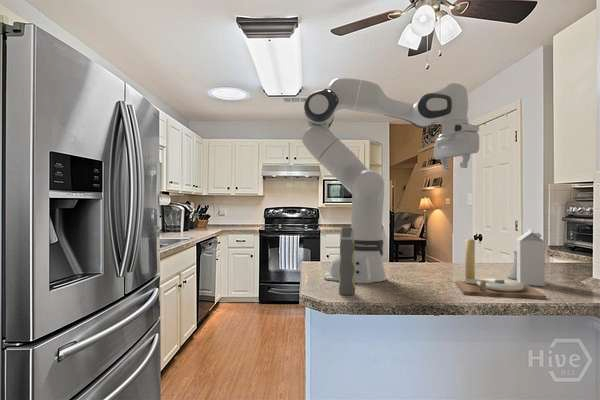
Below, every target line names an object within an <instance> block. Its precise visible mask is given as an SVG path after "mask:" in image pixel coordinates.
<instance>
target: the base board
mask: <svg viewBox="0 0 600 400" xmlns="http://www.w3.org/2000/svg"><path fill="white" fill-rule="evenodd" d="M454 284H455V285H456V287H457V288H458V289H459V291H460V292H461V293H462V295H467V296H479V297H480V296H482V297H484V296H485V297H500V298H514V299H515V298H517V299H531V300H532V299H533V300H547V295H546V294H544V293H542V292H540V291H538V289H535V288H533V287H532V285H527V284H523V285H524V290H521V291H498V290H491V289H486V281H484V280H480V287H479V286H478V285H477V284H473V283H466V282H465V280H454Z"/></svg>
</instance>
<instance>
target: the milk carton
mask: <svg viewBox="0 0 600 400" xmlns="http://www.w3.org/2000/svg"><path fill="white" fill-rule="evenodd" d="M541 237H542V235H541V233H539V232H538V231H535V232H534V231H533V229H532V228H529V227H527V231H526V232H524V233H523V234H521V235H520V236H519V237H517V238H516V251H517V280H516V282H519V283H522V284H527V285H529V286H531V287H532V286H535V287H545V286H546V282H545V281H546V279H545V278H546V276H545V275H546V273H545V270H546V269H545V266H546V265H545V261H546V259H545V258H546V256H545V254H546V253H545V248H546V247H545V241H544V240H543V239H542V238H541Z"/></svg>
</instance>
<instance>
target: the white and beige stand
mask: <svg viewBox="0 0 600 400" xmlns="http://www.w3.org/2000/svg"><path fill="white" fill-rule="evenodd" d="M475 244H476V239H473V238H466V239H465V280H464V281H465V282H466V283H473V284H477V285H478V286H479V287H480V280H484V281H486V289H491V290H498V291H521V290H524V285H523V284H522V283H519V282H518V281H517V280H512V279H511V280H510V279H502V278H476V272H475V271H476V258H475V257H476V249H475V248H476V245H475Z"/></svg>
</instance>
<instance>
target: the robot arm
mask: <svg viewBox="0 0 600 400" xmlns="http://www.w3.org/2000/svg"><path fill="white" fill-rule="evenodd" d="M468 95H469V94H468V91H467V89H466V86H464V85H462V84H459V83H448V84H445V85H444V86H443V87H442V88H440V89H438V90H436V91H433V92H430V93H426V94H424V95H422V96H421V97H420V98H419V99H418V101H417V102H415V103H409V102H405V101H401V100H396V99H393V98H390V97H388V96H387V95H386V94H385V92H384V91H383V89H382V87H381V86H380V85H379V84H377V83H374V82H371V81H370V80H363V79H358V78H349V77H347V78H345V77H343V78H341V77H339V78H338V77H337V78H335V79H333V80H331V82H330V83H329V86H328V88H327V87H326V88H324V89H321V90H317V91H314V92H312V93H310V94H308V96H307V97H306V99H305V101H304V106H303V108H304V109H303V110H304V116H305V118H306V121H307V123H308V124H307V125H308V127H307V128H306V129H305V130H304V132H303V134H302V140H301V142H302V144H303V146H305V148H306V150H307V151H308V152H309V153H310V154H311V156H312V157H313V158H314V159H315V160H317V162H319V163H320V165H321V166H322V167H324V169H326V170H327V171H328V172H329V173H330V175H332V177H334V179H336V180H337V181H338V182H339V183H340V184H341V185H342V186H343V187H344V188H345V189H346V190H347V191H348V193H350V194H351V218H350V219H351V228H352V229H353V230H354V266H355V283H356V284H370V283H376V282H377V283H378V282H379V283H380V282H383V281H386V280H388V279H387V275H386V271H385V267H384V266H385V265H384V258H383V257H384V254H385V252H384V250H385V247H384V246H385V244H384V239H383V212H384V199H385V182H384V178H383V176H382V175H381V174H380V173H379V172H377V171H376V170H373V169H368V168H367V166H366V165H365V164H364V163H363V162H362V160H360V159H359V157H358V156H356V154H355V153H354V152H353V151H352V150H351V149H350V148H349V147H348V146H347V145H346V144H345V143H343V142H342V141H341V140H340V139H339V138H338V136H336V135H335V134H334V133H333V132H332V131H331V128H330V127H331V126H332V124H333V121H334V118H335V113H336V112H337V111H340V110H351V111H354V112H361V113H367V114H368V113H370V114H379V115H383V116H387V117H390V118H395V119H400V120H404V121H407V122H408V123H410V124H412V125H413V126H415V127H417V128H419V129H427V128H430V127H431V126H433V125H434V124H435V123H436V122H437V121H440V122H441V133H440V134H438V136H437V137H436V140H435V142H434V146H433V158H434V159H435V160H440V163H441V165H442V170H443V171H445V172H446V171H447V172H448V171H450V165H449V164H448V161H449V159H450V158H456V157H457V158H458V157H461V158H462V161H461V162H459V163H460V165H459V167H460V169H467V168H468V164H469V161H470V158H471V155H472V154H473V155H474V154H478V152H479V151H480V135H479V131H480V126H479V125H478V124H477V125H476V124H472V123H471V124H470V123H469V118H468V112H469V96H468ZM339 268H340V253H339V254H338V255H337V256H336V257H334V258H333V259H332V261H331V263H330V268H329V271H327V272H325V273H323V274H324V275H323V279H325V280H328V281H336V282H339V279H340V271H339Z"/></svg>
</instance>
